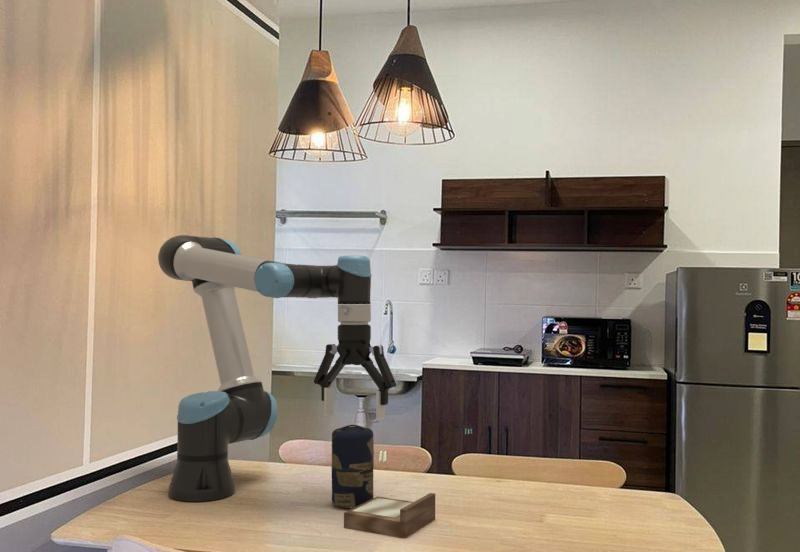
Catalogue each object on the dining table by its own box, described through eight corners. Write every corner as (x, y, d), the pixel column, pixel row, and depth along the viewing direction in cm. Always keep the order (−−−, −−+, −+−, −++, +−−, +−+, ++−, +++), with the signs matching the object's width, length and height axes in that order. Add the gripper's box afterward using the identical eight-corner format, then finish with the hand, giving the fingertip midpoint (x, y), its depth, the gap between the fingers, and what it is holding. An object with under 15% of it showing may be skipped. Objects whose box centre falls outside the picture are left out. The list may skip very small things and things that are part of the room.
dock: (343, 527, 150) (344, 500, 150) (377, 510, 163) (377, 485, 163) (405, 538, 144) (405, 510, 144) (435, 519, 156) (435, 493, 156)
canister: (367, 512, 161) (368, 429, 162) (325, 509, 163) (326, 427, 164) (377, 500, 171) (378, 422, 171) (337, 498, 172) (338, 420, 173)
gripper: (299, 323, 170) (298, 416, 170) (395, 324, 159) (395, 424, 158) (317, 322, 177) (317, 411, 176) (410, 323, 166) (410, 419, 165)
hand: (354, 417), depth 167 cm, fingers open, 13 cm apart
